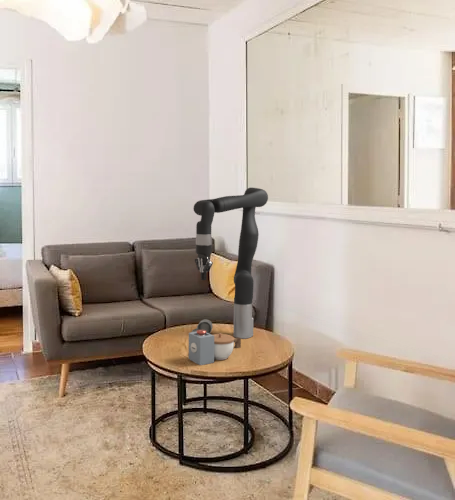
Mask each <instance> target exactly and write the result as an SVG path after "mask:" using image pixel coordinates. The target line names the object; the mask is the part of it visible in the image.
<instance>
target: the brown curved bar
mask: <svg viewBox="0 0 455 500" xmlns="http://www.w3.org/2000/svg"><path fill="white" fill-rule="evenodd" d="M241 343H242V338H239V337H237V338H236V337H234V348H236V349H240V348H241V347H242V345H241Z"/></svg>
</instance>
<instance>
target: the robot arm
mask: <svg viewBox="0 0 455 500" xmlns="http://www.w3.org/2000/svg"><path fill="white" fill-rule="evenodd" d="M268 200H269V195H268V192H267V191H266V190H265V189H262V188H258V187H248V188H247V189H245V190H244V194H241V195H226V196H219V197H216V198H211V199H210V198H209V199H201V200H198V201H196V202H195V203H194V205H193V211H194V213H195V214H196V215H198V216H201V217H200V220H199V221H197V222H196V226H195V228H196V229H195V230H196V232H195V233H196V234H195V254H196V255H197V258H195V259H194V263H195V265H196V268H197V270H198V271H199V272H200V280H201V281H206V280H207V273H208V272H210V270H211V268H212V266H213V264H214V263H213V261H211V257H210V255H211V254H212V252H213V251H212V250H213V249H212V248H213V247H212V245H213V239H212V238H213V237H212V236H213V235H212V224H213V222H214V218H215V217H214V216H215V214H216V213H217V214H218V213H219V214H220V213H224V212H230V211H234V210H239V209H242V216H241V217H242V218H241V225H240V226H241V228H240V233H239V240H238V249H237V250H238V252H237V253H238V255H237V264H236V267H235V271H234V276H233V283H234V298H233V334H232V336H233V337H234V338H237V337H239V338H241V339H250V338H251V337H253V336H254V317H253V299H254V278H253V276H252V264H253V259H254V256H255V254H256V251H257V248H258V242H259V235H260V234H259V228H258V225H257V222H256V216H255V215H256V208H262V207H264V206H265V205H266V204H267V202H268Z"/></svg>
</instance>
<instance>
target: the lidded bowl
mask: <svg viewBox="0 0 455 500" xmlns="http://www.w3.org/2000/svg"><path fill="white" fill-rule="evenodd" d="M212 335H214V360H217V361H219V360H220V361H222V360H227V359H228V358H229V357H230V356H231V354H232V353H233V350H234V348H235V342H234V338H235V337H234V336H233V335H229V334H225V333H224V334H223V333H221V332H219V333H214V334H212Z"/></svg>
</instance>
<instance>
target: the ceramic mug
mask: <svg viewBox="0 0 455 500" xmlns="http://www.w3.org/2000/svg"><path fill="white" fill-rule="evenodd" d="M213 327H214V326H213V322H212V321H211V320H209V319H207V318H206V319H205V318H204V319H202V320H200V321H199V323H198V324H197V325H196V328H194V329H192V330H191V332H197V330H206V332H207V333H209V334H211V333H212V332H213V331H212V330H213Z"/></svg>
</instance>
